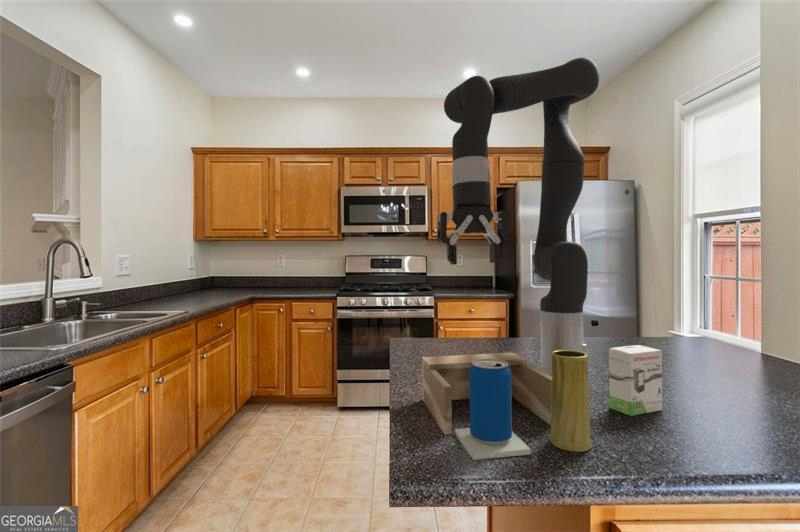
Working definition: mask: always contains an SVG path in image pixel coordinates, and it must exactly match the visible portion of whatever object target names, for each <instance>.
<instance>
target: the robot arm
mask: <svg viewBox="0 0 800 532" xmlns="http://www.w3.org/2000/svg"><path fill="white" fill-rule="evenodd" d="M599 84H600V72H599V69H598V67H597V65H596V63H595V62H594V61H593V60H592V59H590V58H589V57H588V58H587V57H585V56H584V57H578V58H577V57H576V58H574V59H571V60H569V61H567V62H566V63H563V64H561V65H558V66H555V67H550V68H546V69H542V70H537V71H536V70H535V71H532V72H531V71H530V72H524V73H519V74H518V73H517V74H513V75H512V74H511V75H505V76H498V77H494V78H492V79H490V80H488V79H486V78H485V77H483V76H481V75H474V76H471V77H469V78H467V79H466V80H464V81H463V82H462V83H460V84H459V85H457V86H456V87H455V88H453V89H452V90H451V91H450V92H448V94H447V95H446V96H445V100H444V102H443V110H444V113H445V115H446V117H447V118H448V119H449V120H450V121H451V122H454V123H456V124H461V125H460V126H459V128H458V129H457V131H456V132H455V133H454V134H453V137H452V142H451V143H452V144H451V146H452V149H451V150H452V151H451V152H452V168H451V169H452V170H451V182H452V183H451V184H452V208H453V209H452V212H446V211H442V212H439V213H438V214H437V228H436V229H437V230H436V231H437V232H436V233H437V234H436V235H437V236H436V240H437V243H439V244H442V245H445V247H446V257H447V262H449V263H450V265H458V258H457V257H458V255H457V254H458V253H457V252H458V250H457V245H456V243H457V241H458V240H459V238H461V236H462V235H469V234H474V235H475V234H482V235H483V237H484V238H486V240H488V242H489V243H490V244H489V248H488V249H489V263H491V264H497V263H498V261H499V260H500V259H501V257H500V254H501V252H500V248H501V247H500V244H501V243H502V242H505V241H508V240H509V228H508V216H507V211H506V210H501V211H498V212H493V210H492V208H491V207H492V198H491V197H492V196H491V195H492V192H491V181H492V179H491V169H490V163H489V147H488V146H489V144H488V138H489V133H490V130H491V129H490V128H491V125H492V120H493V119H492V118H493V115H496V114H503V113H508V112H513V111H517V110H521V109H525V108H528V107H532V106H534V105H538V104H540V103H543V104H542V107H543V154H542V155H543V156H542V166H541V189H540V190H541V192H540V205H539V221H538V227H537V229H538V230H537V235H536V239H535V240H536V241H535V246H534V253H533V266H534V270H535V272H536V275H538V276H539V278H541V279H542V280H544V281H549V282H550V286H549V291H548V293H547V294H546V295H545V296H543V297H542V298H541V299H540V301H539V302H540V303H539V307H540V308H539V309H540V311H539V312H540V316H539V317H540V371H541V372H543V373H545V374H547V375H549V376H551V377H552V352H553V351H556V350H573V351H579V352H584V353H586V354H587V355H588V345H587V344H586V343H584V303H585V301H586V298H587V294H588V275H589V273H588V272H589V264H588V257H587V252H586V251H585V249H584V248H583V246H582V245H581V244H579V243H578V242H575V241H571V240H570V241H566V240H567V239H566V238H567V227H568V222H569V220H570V216H571V214H572V213H573V211H574V208H575V206H576V204H577V202H578V199H579V197H580V195H581V192H582V189H583V187H584V180H585V179H584V178H585V177H584V176H585V156H584V153H583V151H582V149H581V147H580V145H579V144H578V142H577V140H576V139H575V137H574V136H573V134H572V133H571V129H570V124H569V111H570V106H572V105H574V104H576V103H579V102H581V101H583V100H586V99H588V98H590V97H591V96H592V95H593V94H594V93H595V92H596V91H597V89H598V87H599ZM492 220H493V221H494V223H496V230H497V233H496V231H495V229H494V228H493V227H492V225H491V224H490V223H491V221H492ZM451 221H452V222H453V223H454V225H455V227H454V229H453V230H452V231H451V233H450V235H449V236H448V237H447V231H448V227H447V226H448V224H449V223H450V222H451ZM587 369H588V367H587ZM588 370H589V369H588Z"/></svg>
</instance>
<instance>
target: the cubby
mask: <svg viewBox="0 0 800 532" xmlns="http://www.w3.org/2000/svg"><path fill="white" fill-rule="evenodd" d="M477 359H498V360H503V361H506V362H507V363H508V367H509V369H510V371H511V398H513V399H515V400H517V402H518V403H520V404H521V405H523V406H524V407H525V408H526V409H528V410H530V411H531V412H532V413H534V414H535V415H536V416H537V417H539V419H541V420H543V421H544V422H546V423H547V424H548V425H549V426H551V409H552V377H551V376H549V375H547V374H545V373H543V372H541V370H539V369H537V368H536V367H534V366H531V365H530V364H528V359H527V358H526V357H524V356H521V355H519V354H517V353H515V352H498V353H497V352H495V353H480V354H479V353H478V354H477V353H476V354H460V355H459V354H458V355H456V354H455V355H442V356H441V355H440V356H439V355H438V356H437V355H436V356H423V357H421V369H422V371H421V374H422V375H421V376H422V382H421V383H422V391H421V392H422V401H423V402H424V404H425V407H426V408H427V409H428V411H429V412H430V414H431V416H432V417H433V418H434V420H435V421H436V423H437V425H438V426H439V427H440V429H441V431H442V432H443V434H444V435H446V436H447V435H448V436H449V435H452V434H453V430H452V429H453V423H452V422H453V417H452V416H453V415H452V412H453V411H452V404H453V402H452V401H456V400H470V383H469V370H470V367H471V366H472V361H474V360H477Z"/></svg>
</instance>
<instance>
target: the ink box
mask: <svg viewBox="0 0 800 532" xmlns="http://www.w3.org/2000/svg"><path fill="white" fill-rule="evenodd" d="M662 353H663V352H662V350H661V349H657V348H653V347H650V346H646V345H641V344H636V345H635V344H634V345H625V346H616V347H611V348H609V349H608V373H609V374H608V377H609V379H608V383H609V390H608V391H609V393H608V395H609V397H608V398H609V409H611V410H614V411H617V412H619V413H622V414H625V415H627V416H629V417H633V416H638V415H644V414H648V413H653V412H654V413H655V412H659V411H662V410H663V364H662V363H663V362H662V361H663V354H662Z"/></svg>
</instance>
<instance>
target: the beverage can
mask: <svg viewBox="0 0 800 532" xmlns="http://www.w3.org/2000/svg"><path fill="white" fill-rule="evenodd" d="M469 383H470V399H469V428H470V433H471V435H472V436H473V437H474V438H475V439H476V440H477V441H479V442H480V443H483V444H487V445H501V444H504V443H505V442H506V441H507V440H509V439H510V438H511V437H512V432H513V425H512V424H513V422H512V421H513V419H512V418H513V417H512V416H513V415H512V412H513V411H512V396H511V371H510V369H509V367H508V363H507V362H506V361H503V360H498V359H477V360H474V361H472V366H471V367H470V370H469Z"/></svg>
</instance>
